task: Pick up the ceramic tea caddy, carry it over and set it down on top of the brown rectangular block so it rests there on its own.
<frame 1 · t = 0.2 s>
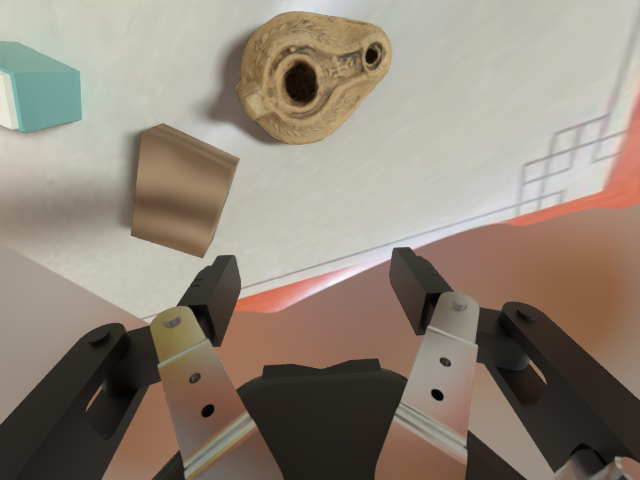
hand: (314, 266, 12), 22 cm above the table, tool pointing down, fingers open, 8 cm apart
brown rectangular block: (192, 188, 33), on the table
tea caddy: (52, 83, 25), on the table
oil lamp: (312, 75, 26), on the table
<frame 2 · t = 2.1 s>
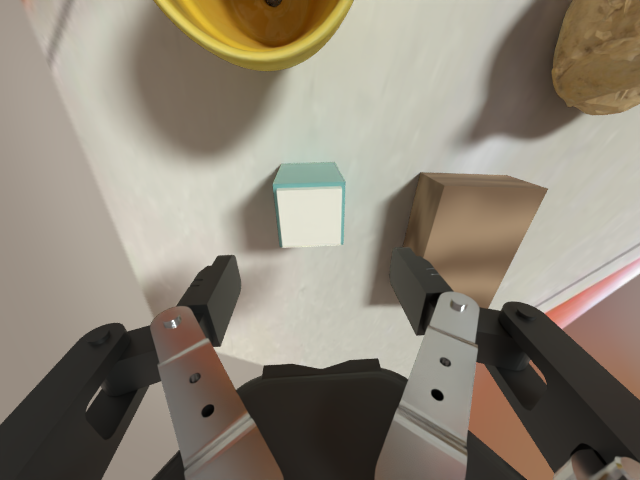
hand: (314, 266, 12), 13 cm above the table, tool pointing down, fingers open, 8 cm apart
brown rectangular block: (442, 235, 28), on the table
tea caddy: (309, 188, 24), on the table
oil lamp: (610, 13, 19), on the table
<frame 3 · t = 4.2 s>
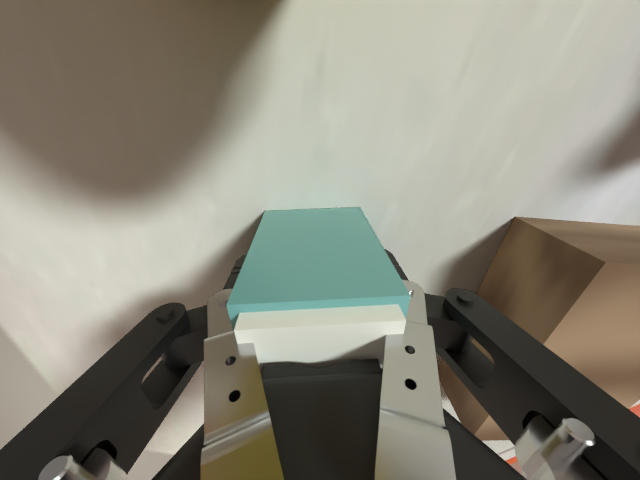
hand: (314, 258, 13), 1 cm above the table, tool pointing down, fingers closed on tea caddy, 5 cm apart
brown rectangular block: (523, 308, 18), on the table
tea caddy: (314, 249, 14), on the table, touching gripper
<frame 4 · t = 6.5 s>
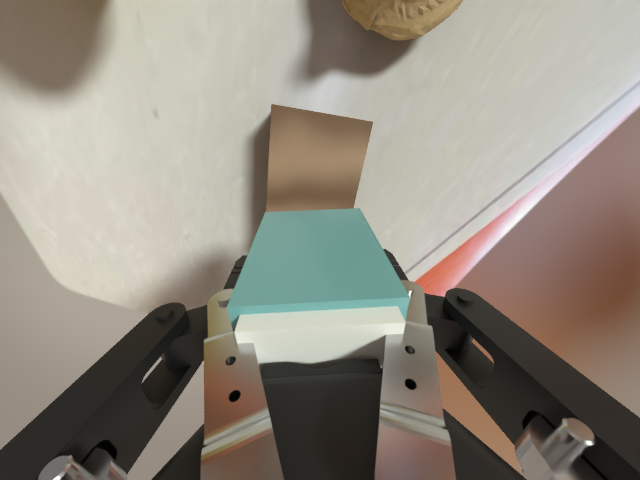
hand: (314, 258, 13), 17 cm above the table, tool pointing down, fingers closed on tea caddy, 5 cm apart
brown rectangular block: (311, 178, 29), on the table
tea caddy: (314, 251, 14), point 16 cm above the table, touching gripper
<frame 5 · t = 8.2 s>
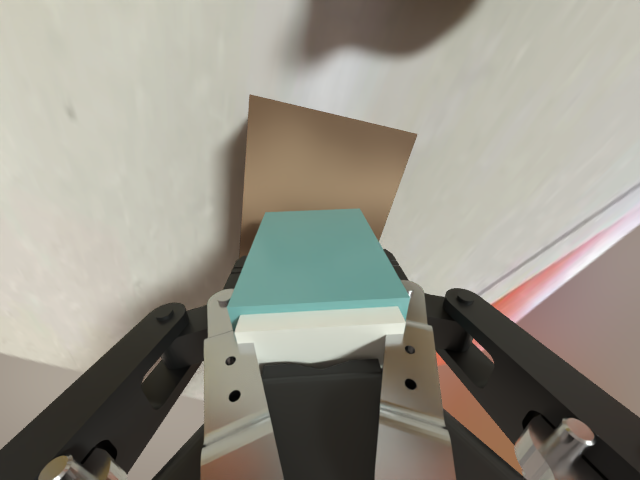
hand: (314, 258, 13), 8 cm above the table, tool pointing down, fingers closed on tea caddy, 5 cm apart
brown rectangular block: (310, 207, 20), on the table
tea caddy: (314, 251, 14), point 7 cm above the table, touching gripper
when the fingers open (7 cm above the table, at t = 9.3 s): tea caddy drops 1 cm, resting on brown rectangular block.
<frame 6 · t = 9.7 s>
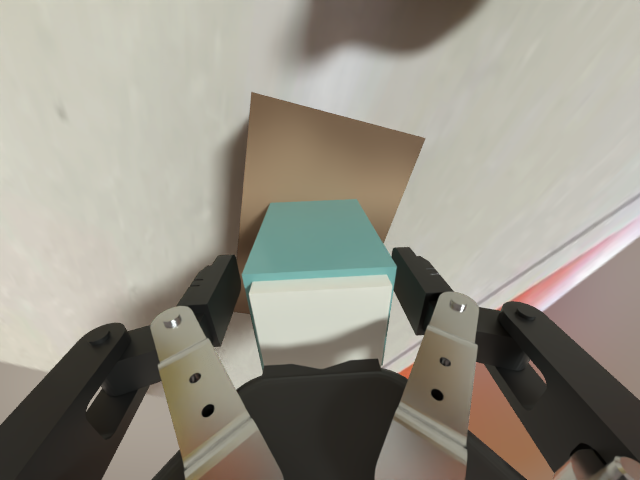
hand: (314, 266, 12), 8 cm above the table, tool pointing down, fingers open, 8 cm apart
brown rectangular block: (311, 210, 20), on the table, touching tea caddy
tea caddy: (315, 239, 15), point 5 cm above the table, touching brown rectangular block
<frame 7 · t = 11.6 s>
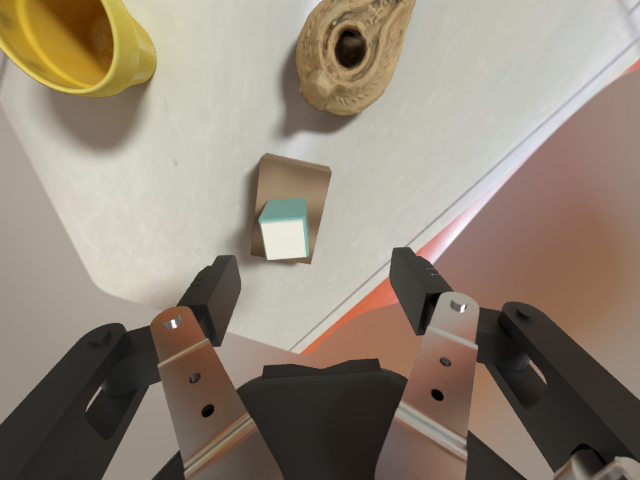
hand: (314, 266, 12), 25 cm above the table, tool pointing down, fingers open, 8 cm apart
brown rectangular block: (290, 205, 38), on the table, touching tea caddy
tea caddy: (289, 216, 33), point 5 cm above the table, touching brown rectangular block
plant pot: (129, 51, 28), on the table
oil lamp: (349, 51, 29), on the table
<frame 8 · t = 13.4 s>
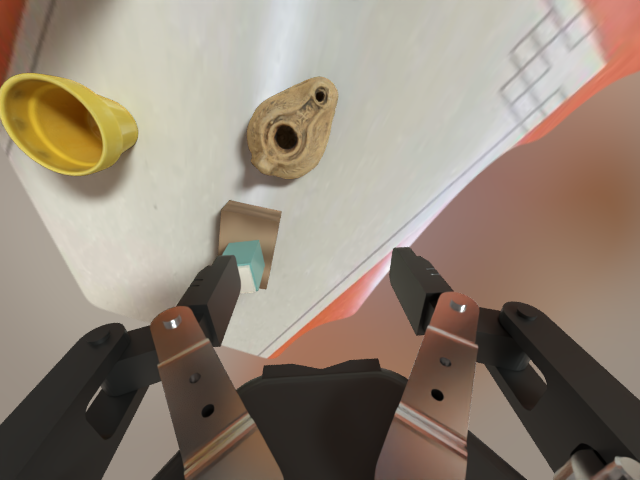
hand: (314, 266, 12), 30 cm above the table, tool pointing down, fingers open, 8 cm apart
brown rectangular block: (251, 239, 45), on the table, touching tea caddy
tea caddy: (247, 254, 41), point 5 cm above the table, touching brown rectangular block
plant pot: (115, 125, 35), on the table
oil lamp: (293, 127, 37), on the table
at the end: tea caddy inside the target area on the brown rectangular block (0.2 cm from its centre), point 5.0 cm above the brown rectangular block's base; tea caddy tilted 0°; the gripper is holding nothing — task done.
